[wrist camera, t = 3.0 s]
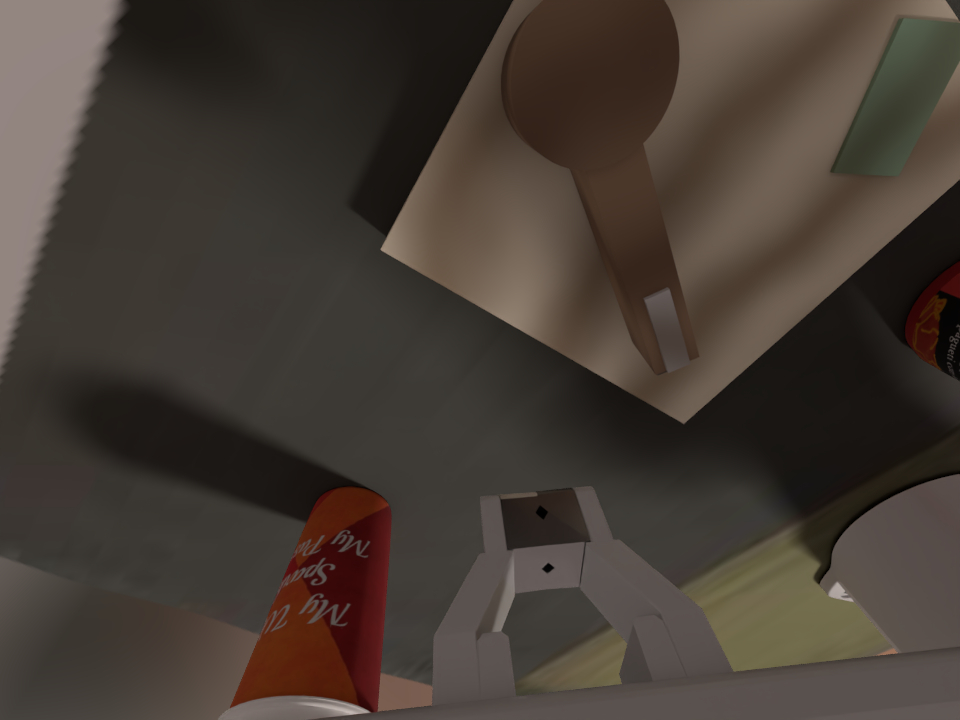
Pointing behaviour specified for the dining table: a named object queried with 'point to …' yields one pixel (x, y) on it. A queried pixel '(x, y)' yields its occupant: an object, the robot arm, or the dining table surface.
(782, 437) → the dining table surface
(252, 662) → the paper cup
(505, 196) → the cream flat square slab
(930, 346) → the canned food
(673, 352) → the wooden spoon
